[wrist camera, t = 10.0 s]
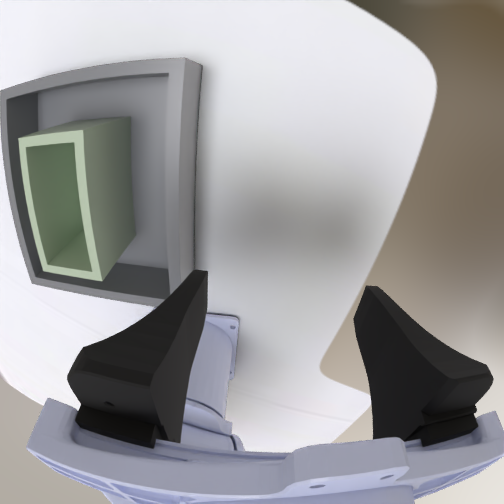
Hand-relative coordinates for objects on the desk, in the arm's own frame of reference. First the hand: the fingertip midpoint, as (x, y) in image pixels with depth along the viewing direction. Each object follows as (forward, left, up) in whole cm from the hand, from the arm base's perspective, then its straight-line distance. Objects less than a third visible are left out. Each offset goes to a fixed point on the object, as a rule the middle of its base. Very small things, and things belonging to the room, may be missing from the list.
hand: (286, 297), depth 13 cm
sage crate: (+2, +13, -9) cm, 16 cm away
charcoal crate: (+2, +13, -9) cm, 16 cm away
